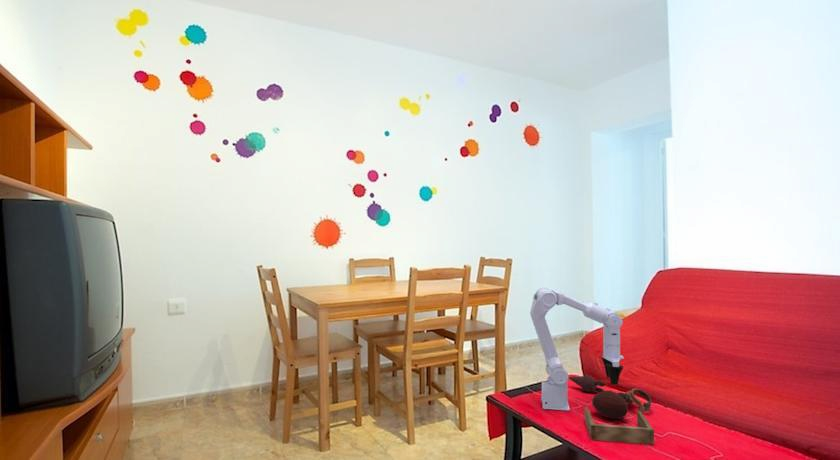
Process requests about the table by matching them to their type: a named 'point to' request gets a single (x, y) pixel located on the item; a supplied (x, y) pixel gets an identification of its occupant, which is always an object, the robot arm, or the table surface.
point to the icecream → (588, 383)
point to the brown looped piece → (631, 398)
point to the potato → (610, 404)
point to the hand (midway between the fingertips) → (611, 380)
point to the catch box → (621, 430)
